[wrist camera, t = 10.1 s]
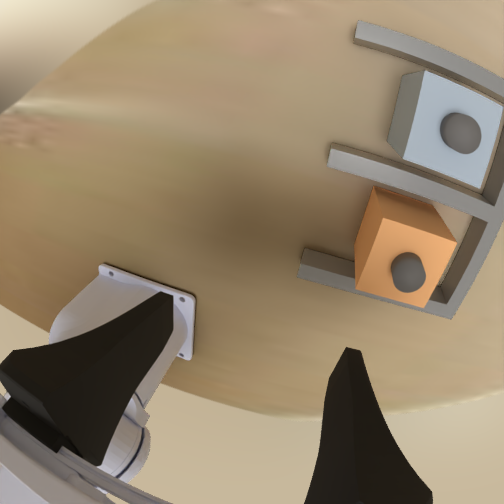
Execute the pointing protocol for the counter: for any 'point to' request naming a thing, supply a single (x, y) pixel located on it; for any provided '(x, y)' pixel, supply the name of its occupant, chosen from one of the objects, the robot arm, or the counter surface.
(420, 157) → the seated plug
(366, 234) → the orange plug
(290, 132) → the counter surface
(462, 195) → the e-shaped shelf rack
